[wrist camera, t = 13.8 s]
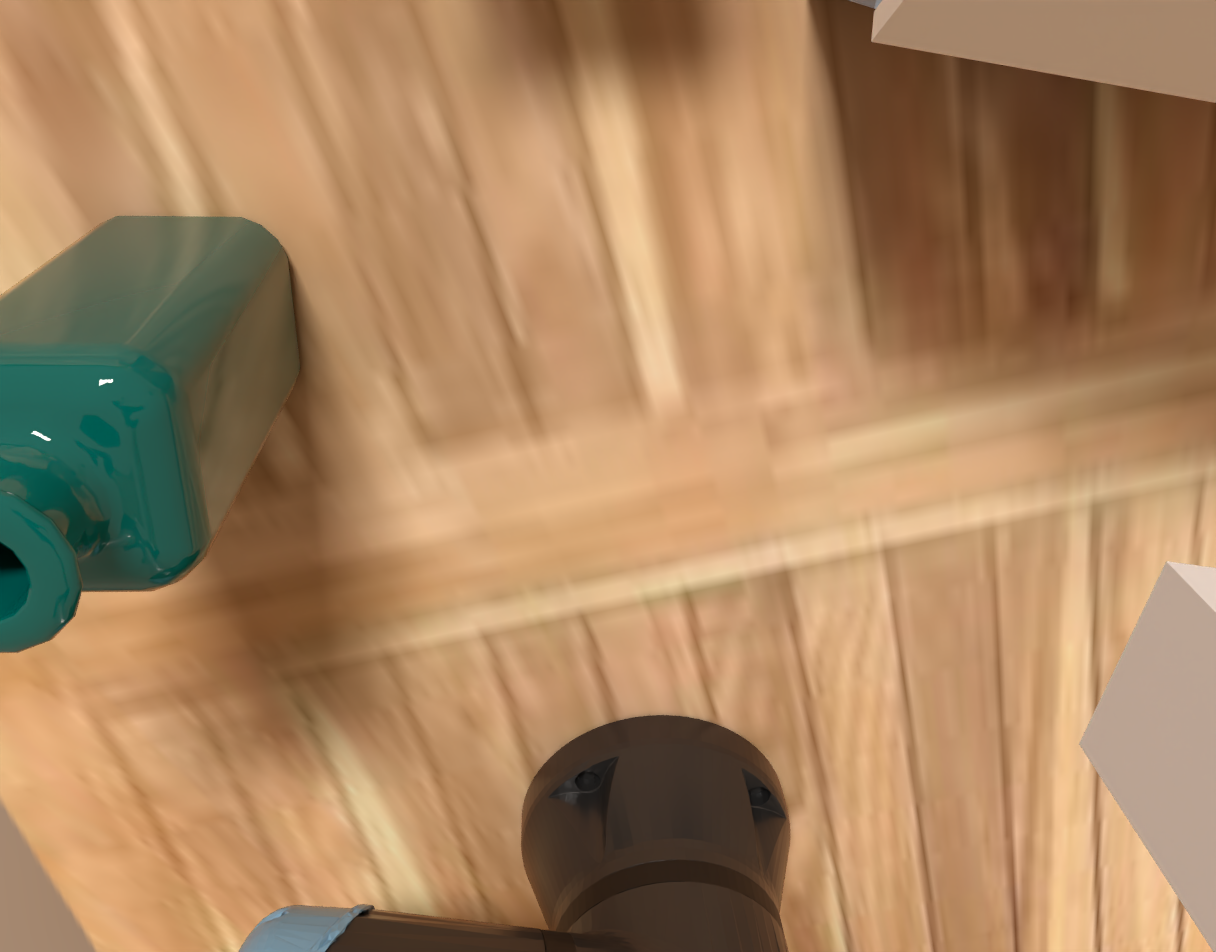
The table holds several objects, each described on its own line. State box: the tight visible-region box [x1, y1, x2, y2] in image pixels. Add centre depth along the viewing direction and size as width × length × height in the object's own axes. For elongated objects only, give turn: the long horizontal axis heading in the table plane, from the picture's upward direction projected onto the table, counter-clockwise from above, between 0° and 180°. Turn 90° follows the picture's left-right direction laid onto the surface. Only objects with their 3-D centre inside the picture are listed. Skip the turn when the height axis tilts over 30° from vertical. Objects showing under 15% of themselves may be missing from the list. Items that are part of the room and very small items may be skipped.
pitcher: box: [0, 216, 300, 653], centre depth 38 cm, size 10×8×22 cm
